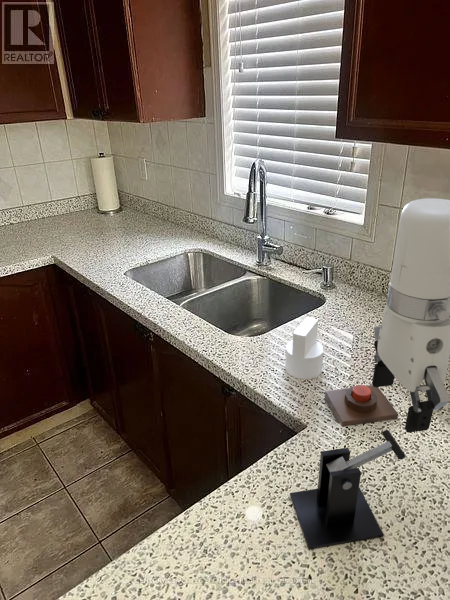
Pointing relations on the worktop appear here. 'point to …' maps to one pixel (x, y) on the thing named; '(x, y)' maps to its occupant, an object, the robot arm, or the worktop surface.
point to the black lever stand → (335, 507)
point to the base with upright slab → (304, 351)
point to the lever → (368, 454)
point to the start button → (361, 393)
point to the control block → (359, 407)
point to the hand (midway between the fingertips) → (398, 406)
